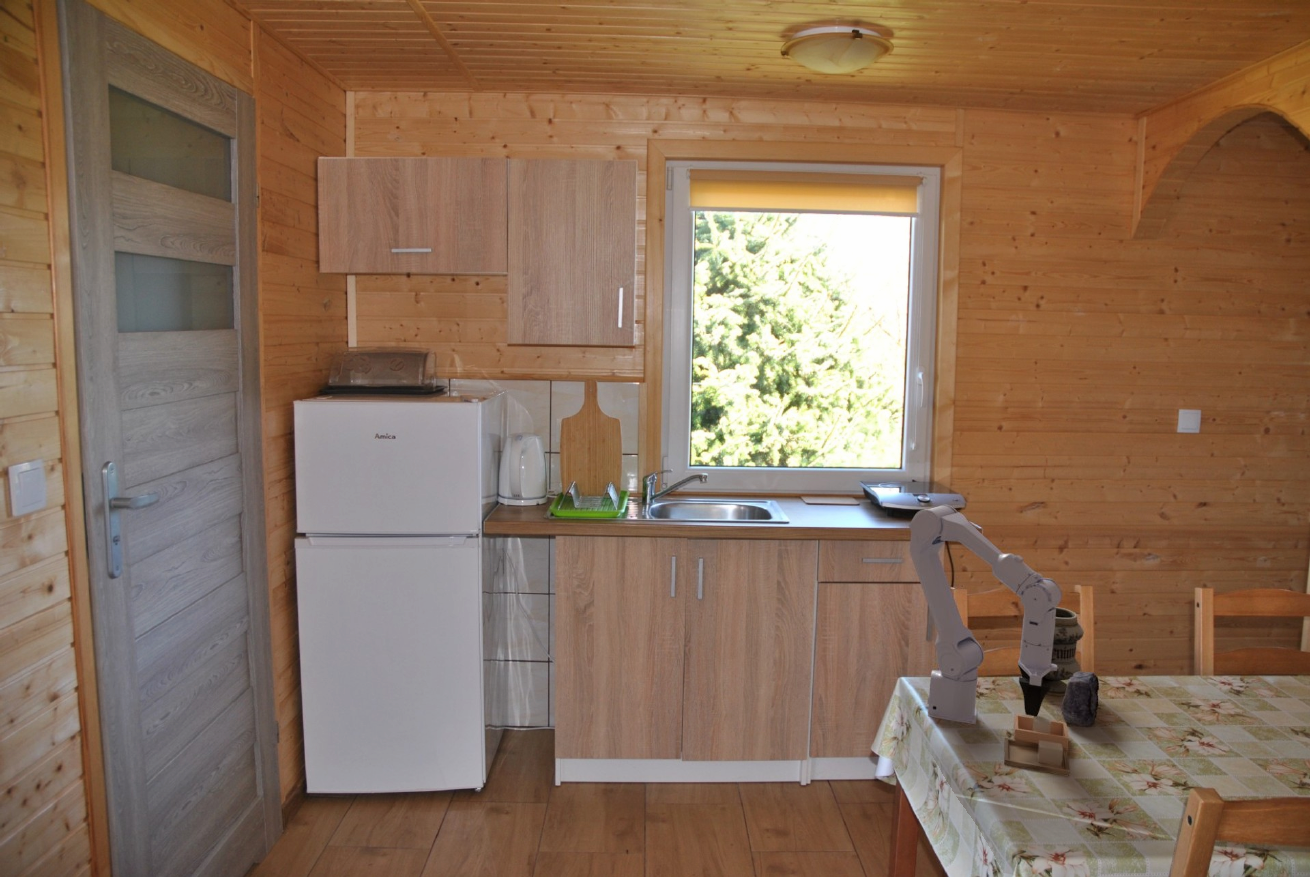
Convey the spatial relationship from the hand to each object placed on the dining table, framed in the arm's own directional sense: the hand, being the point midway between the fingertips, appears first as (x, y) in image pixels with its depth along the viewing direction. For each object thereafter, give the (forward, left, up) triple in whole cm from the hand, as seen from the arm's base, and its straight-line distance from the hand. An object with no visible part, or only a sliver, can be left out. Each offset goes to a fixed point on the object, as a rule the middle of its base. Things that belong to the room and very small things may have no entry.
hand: (1030, 707), depth 181 cm
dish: (+2, 0, -7) cm, 7 cm away
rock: (+10, +14, -7) cm, 19 cm away
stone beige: (+4, -9, -6) cm, 12 cm away
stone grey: (+1, 0, -4) cm, 4 cm away
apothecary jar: (+5, +31, -7) cm, 32 cm away
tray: (+1, -9, -7) cm, 11 cm away
